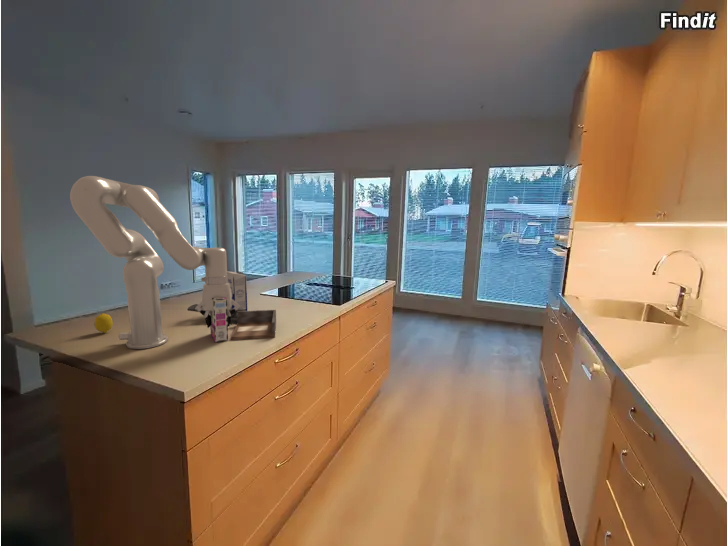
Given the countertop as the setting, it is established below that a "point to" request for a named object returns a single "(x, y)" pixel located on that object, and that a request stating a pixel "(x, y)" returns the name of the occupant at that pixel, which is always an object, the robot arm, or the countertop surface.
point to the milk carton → (238, 288)
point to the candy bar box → (219, 319)
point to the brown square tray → (255, 324)
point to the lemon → (103, 323)
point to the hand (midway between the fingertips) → (218, 325)
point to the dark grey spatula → (234, 315)
